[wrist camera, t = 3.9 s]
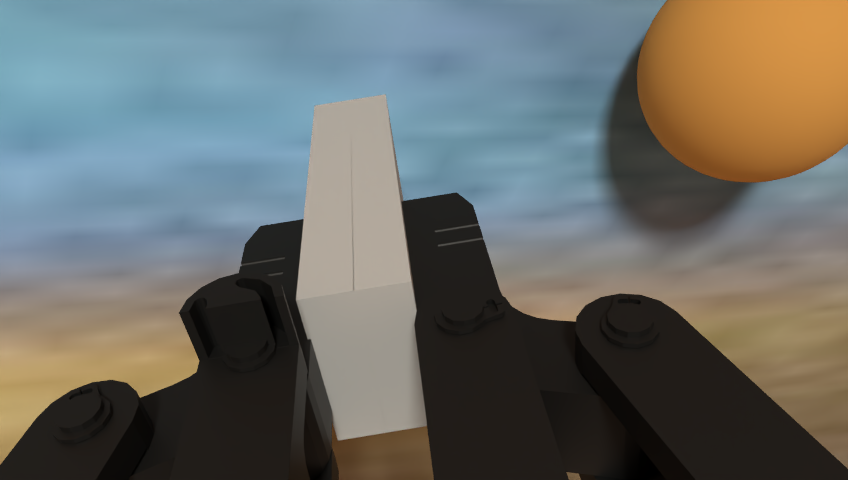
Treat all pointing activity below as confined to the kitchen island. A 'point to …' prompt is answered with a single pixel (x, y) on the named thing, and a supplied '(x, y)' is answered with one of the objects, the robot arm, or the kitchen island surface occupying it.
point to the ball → (747, 85)
